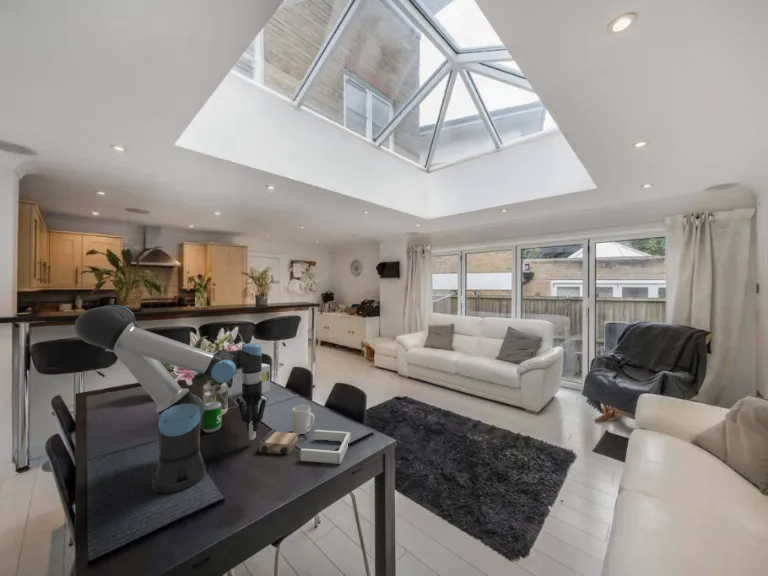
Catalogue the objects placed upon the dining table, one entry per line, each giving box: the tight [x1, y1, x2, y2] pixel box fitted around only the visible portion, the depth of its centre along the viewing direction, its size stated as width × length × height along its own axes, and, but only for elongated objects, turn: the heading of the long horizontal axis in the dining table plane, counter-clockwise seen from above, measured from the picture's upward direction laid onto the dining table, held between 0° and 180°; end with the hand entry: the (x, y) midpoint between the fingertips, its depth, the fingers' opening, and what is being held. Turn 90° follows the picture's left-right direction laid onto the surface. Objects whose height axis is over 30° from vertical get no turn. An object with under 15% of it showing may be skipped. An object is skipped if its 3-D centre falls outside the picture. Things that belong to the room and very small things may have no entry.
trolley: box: [259, 428, 299, 455], centre depth 126 cm, size 12×10×5 cm
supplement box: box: [261, 363, 271, 393], centre depth 188 cm, size 10×9×17 cm
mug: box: [291, 404, 316, 436], centre depth 138 cm, size 12×8×10 cm, turn 53°
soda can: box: [201, 400, 222, 434], centre depth 140 cm, size 8×8×12 cm
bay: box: [300, 429, 352, 465], centre depth 123 cm, size 16×15×4 cm
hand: (252, 438), depth 127 cm, fingers closed
